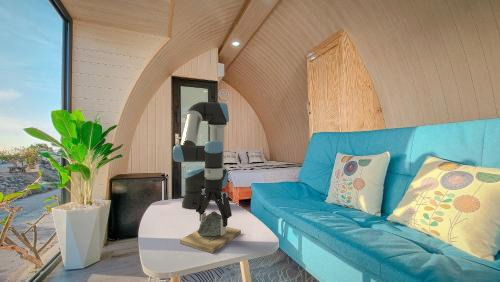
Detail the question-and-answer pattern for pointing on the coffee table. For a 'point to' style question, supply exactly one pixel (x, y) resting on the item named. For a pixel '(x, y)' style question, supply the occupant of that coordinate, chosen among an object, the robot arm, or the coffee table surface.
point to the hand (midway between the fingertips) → (213, 231)
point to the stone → (210, 225)
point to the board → (210, 240)
